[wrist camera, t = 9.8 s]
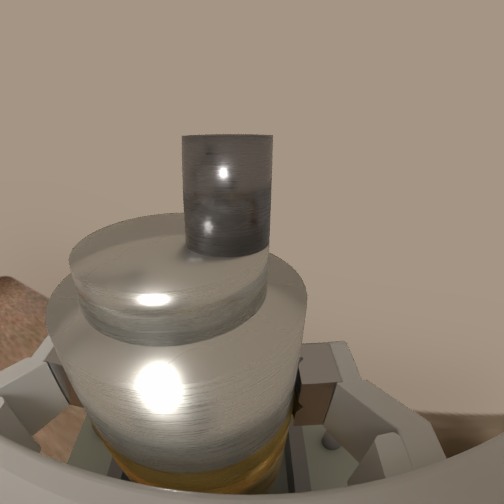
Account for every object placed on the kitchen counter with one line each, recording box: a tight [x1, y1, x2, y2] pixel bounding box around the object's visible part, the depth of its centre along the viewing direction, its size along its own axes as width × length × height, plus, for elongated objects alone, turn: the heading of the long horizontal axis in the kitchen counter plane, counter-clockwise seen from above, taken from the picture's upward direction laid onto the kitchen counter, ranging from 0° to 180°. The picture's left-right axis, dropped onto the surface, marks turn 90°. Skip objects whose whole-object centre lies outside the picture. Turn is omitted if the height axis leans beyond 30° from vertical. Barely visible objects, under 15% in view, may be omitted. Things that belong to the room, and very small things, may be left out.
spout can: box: [46, 134, 307, 495], centre depth 8 cm, size 6×6×13 cm
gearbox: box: [67, 414, 359, 494], centre depth 12 cm, size 20×9×8 cm, turn 91°
